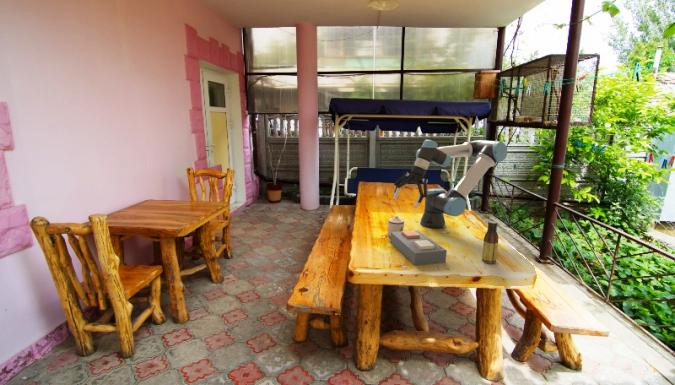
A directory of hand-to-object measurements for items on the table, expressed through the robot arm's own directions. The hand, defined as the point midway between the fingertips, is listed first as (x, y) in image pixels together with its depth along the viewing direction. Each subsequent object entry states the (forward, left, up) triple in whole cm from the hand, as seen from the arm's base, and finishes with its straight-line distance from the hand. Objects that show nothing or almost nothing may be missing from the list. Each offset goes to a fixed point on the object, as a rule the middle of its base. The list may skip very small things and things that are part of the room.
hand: (404, 203), depth 176 cm
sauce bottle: (-28, +37, -20) cm, 50 cm away
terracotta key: (+2, +13, -17) cm, 21 cm away
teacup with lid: (+1, -5, -20) cm, 21 cm away
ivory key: (+2, +27, -17) cm, 32 cm away
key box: (+2, +20, -20) cm, 28 cm away
